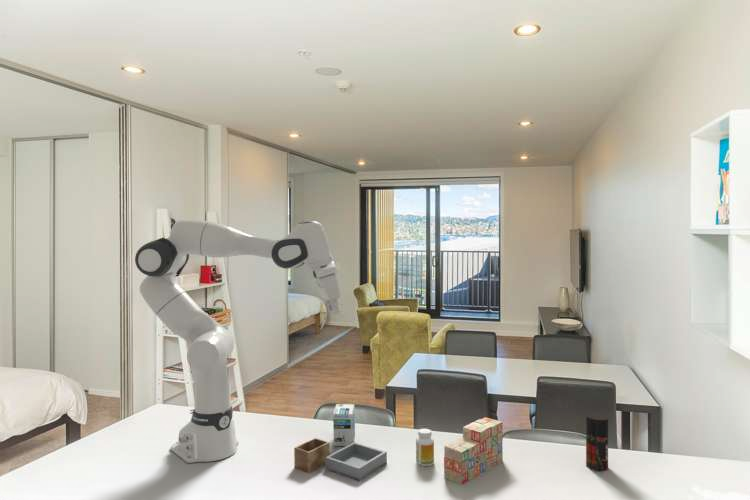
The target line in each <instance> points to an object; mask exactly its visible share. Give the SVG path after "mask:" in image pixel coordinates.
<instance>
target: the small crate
mask: <svg viewBox="0 0 750 500" xmlns="http://www.w3.org/2000/svg"><path fill="white" fill-rule="evenodd" d="M330 447H331V446H330V442H329V441H325V440H323V439H320V438H316V437H314V438H312V439H310V440H308V441H306V442H304V443H302V444H299V445H297V446H295V447H294V448H293V449H294V450H293V451H294V455H293V456H294V457H293V458H294V464H293V465H294V469H296V470H297V469H298V470H299V471H303V472H305V473H308V474H311V473H312V472H314V471H315V470H317V469H320V468H321V467H323V466H326V458H325V457H327V456H329V455H331V454H330V453H331V452H330Z"/></svg>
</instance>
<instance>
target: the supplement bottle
mask: <svg viewBox="0 0 750 500" xmlns="http://www.w3.org/2000/svg"><path fill="white" fill-rule="evenodd" d="M432 433H433V432H432V430H431V429H428V428H420V429H418V432H417V435H418V436H417V438H416V439H415V454H416V455H415V462H416V464H417V465H419V466H422V467H430V466H432V465H434V464H435V463H434V462H435V442H434V441H435V439H434V438H433V437H432V435H433V434H432Z"/></svg>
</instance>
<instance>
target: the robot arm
mask: <svg viewBox="0 0 750 500" xmlns="http://www.w3.org/2000/svg"><path fill="white" fill-rule="evenodd" d="M190 255H198V256H203V257H208V258H231V257H239V256H256V257H261V258H266V259H267V258H268V259H272V261H273V263H274V264H275V265H276V266H277V267H279V268H282V269H287V270H288V269H295V268H300V267H302V266H303V265H305V266H306V269H307V272H308V276H309V279H310V280H314V283H315V284H317V288H318V291H319V295H320V297H321V298H322V299H324V301H325V303H326V305H327V308H328V311H329V312H332V313H333V314H335V315H336V314H339V313H340V308H339V301H338V299H340V297H341V295H340V294H341V292H340V288H339V284H338V283H339V282H338V278H337V275H336V274H337V273H338V269H337V267H336V266H337V265H336V262H335V260H334V257H333V254H332V252H331V250H330V242H329V239H328V236H327V233H326V230H325V228H324V226H323V225H322V224H321V222H318V221H316V220H315V221H312V220H311V221H302V222H301V221H300V222H299V223H298V224H296V226H295V227H294V229H292V230H291V232H289V233H288V234H287V235H286V236H284V237H282V238H281V239H271V238H265V237H259V236H254V235H250V234H247V233H246V232H245V233H244V232H242V231H240V230H238V229H235V228H233V227H230V226H227V225H225V224H222V223H218V222H214V221H208V220H202V219H201V220H200V219H180V220H178V221H176V222H175V223H174V224H173V225H172V227H171V230H170V232H169V236H168V237H167V238H166V237H160V238H158V239H155V240H151V241H150V242H149V241H148V242H147V243H145V244H144V245H142V246H141V247H140V248H138V250H137V251H136V253H135V258H134V261H135V266H136V268H137V270H139V271H140V273H142V274H144V275H145V276H146V277H145V278H144V279H143V280H142V282H141V283H140V286H139V293H140V294H141V297H142V298H143V300H144V301H145V302H146V304H147V305H148V307H149V308H150V309H151V311H152V312H153V313H154V314H155V316H157V318H158V319H159V320H160V321H161V322H162V324H164V325H165V326H166V328H167V329H169V330H170V332H171V333H173V334H174V335H176V336H178V337H180V339H183V340H184V341H186V342H187V343H188V344H189V347H188V349H187V354H186V360H187V363H188V365H189V366H190V372H191V375H192V380H193V381H192V382H193V386H194V387H193V389H194V394H193V395H194V409H191V410H189V414H190V415H191V414H192V415H191V418H190V420H189V422H188V423H186V424H185V425H184V426H183V427H182V428H180V430H179V431H178V432H179V433H178V441H176V442H174V443H173V444H172V445H171V446H170V451H172V452H173V453H175V454H176V455H177V456H178V457H179V458H181V460H183V461H184V462H186V463H187V464H193V463H198V462H199V463H201V462H203V463H205V462H206V463H207V462H214V461H219V460H223V459H227V458H228V457H231V456H233V455H234V454H235V453H236V452H237V450H238V449H237V446H238V444H239V439H237V437H236V428H235V421H234V419H233V413H234V412H233V411H234V410H233V406H232V404H231V403H232V401H231V400H232V399H231V397H232V393H231V391H232V389H231V388H232V387H231V386H232V385H231V381H230V377H229V372H228V366H227V363H228V362H227V361H228V357H230V355H231V354H232V352H233V350H234V347H235V338H234V335H233V334H232V332H230V330H228V329H227V328H225V327H223V325H221V324H220V323H219V322H217V321H216V320H215V319H214V318H213V317H211V316H210V315H209V314H207V313H206V312H205V311H204V310H203V309H202V308H201V307H200V306H199V305H198V304H197V303H196V302H195V301H194V300H193V299H192V297H191V296H189V294H188V293H187V292H186V291H185V290H184V289H183V288H182V287H181V285H180V284H179V283H178V282H177V279H176V278H177V277H178V276H180V275H181V273H182V272H183V269H184V268H185V267H186V265H187V264H188V262H189V259H190Z"/></svg>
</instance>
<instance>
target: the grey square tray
mask: <svg viewBox="0 0 750 500" xmlns="http://www.w3.org/2000/svg"><path fill="white" fill-rule="evenodd" d="M387 453H388V452H387V451H384V450H382V449H378V448H374V447H372V446H368V445H364V444H361V443H358V442H355V441H354V443H352V444H350V445H348V446H343V447H342V448H340V449H338V450H336V451H334V452H333V453H331V454H330V455H329V456H327V457H325V458H326V464H325V470H327V471H330V472H333V473H336V474H338V475H341V476H343V477H347V478H350V479H353V480H355V481H358V482H360V481H362V480H364V479H365V478H366V477H368V476H369V475H371V474H372V473H374V472H376V471H377V470H379V469H380V468H382V467H383V466H385V465H387V462H388V458H387V457H388V454H387Z"/></svg>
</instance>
